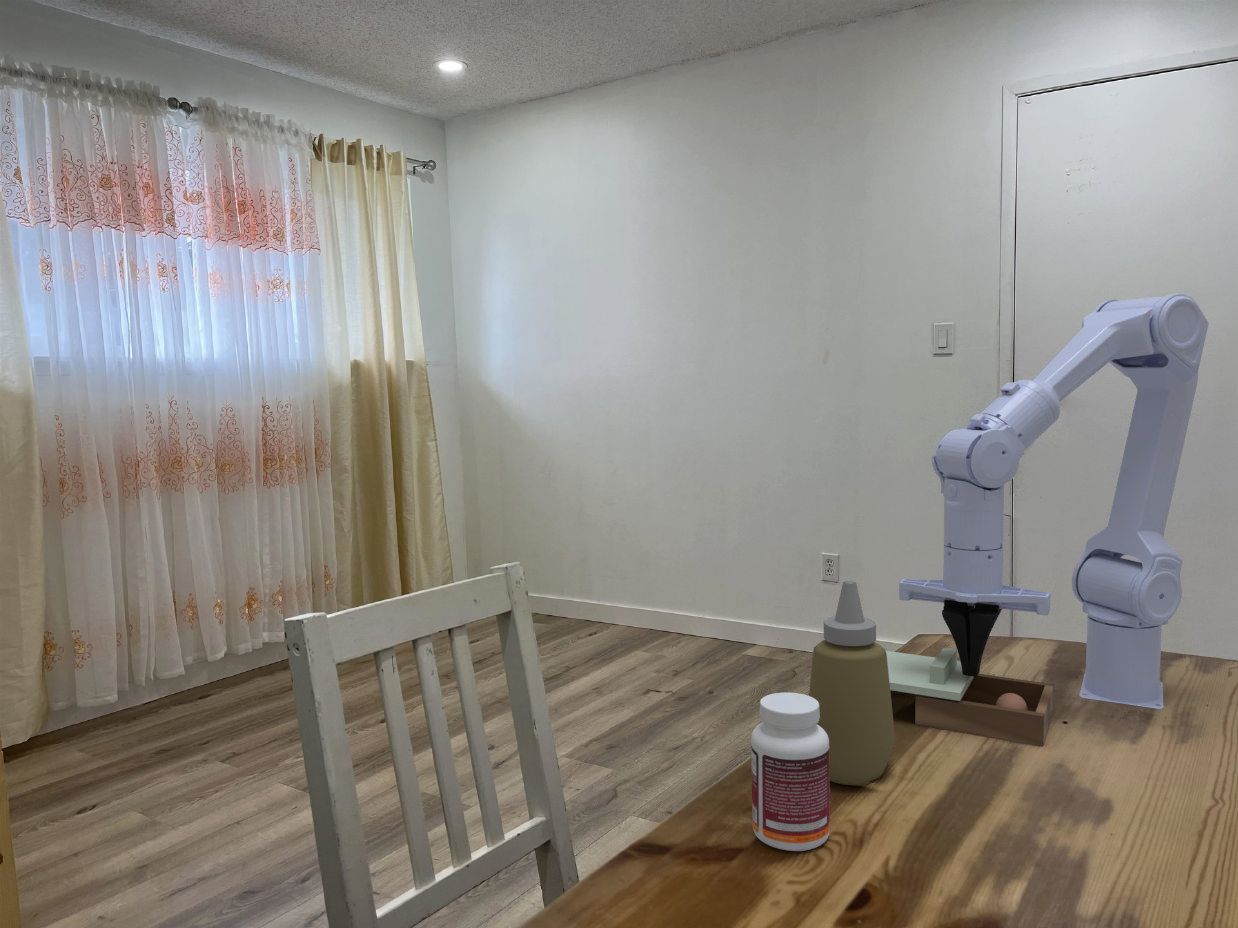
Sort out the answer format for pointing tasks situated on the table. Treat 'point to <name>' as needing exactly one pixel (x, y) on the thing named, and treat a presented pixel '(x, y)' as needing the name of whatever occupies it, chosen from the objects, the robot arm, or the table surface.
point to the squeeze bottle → (853, 693)
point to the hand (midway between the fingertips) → (971, 673)
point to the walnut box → (992, 710)
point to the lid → (928, 674)
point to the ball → (1011, 701)
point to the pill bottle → (790, 773)
